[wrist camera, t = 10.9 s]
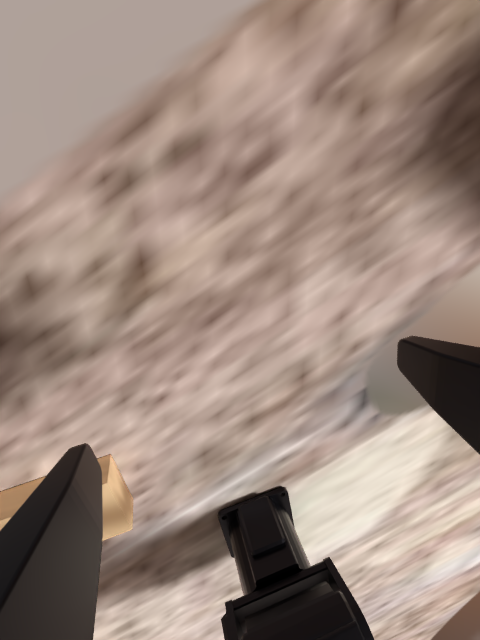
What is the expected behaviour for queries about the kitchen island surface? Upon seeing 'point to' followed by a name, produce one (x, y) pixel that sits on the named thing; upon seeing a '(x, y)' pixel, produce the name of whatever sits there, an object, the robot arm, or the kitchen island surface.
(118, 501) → the plank
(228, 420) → the kitchen island surface
